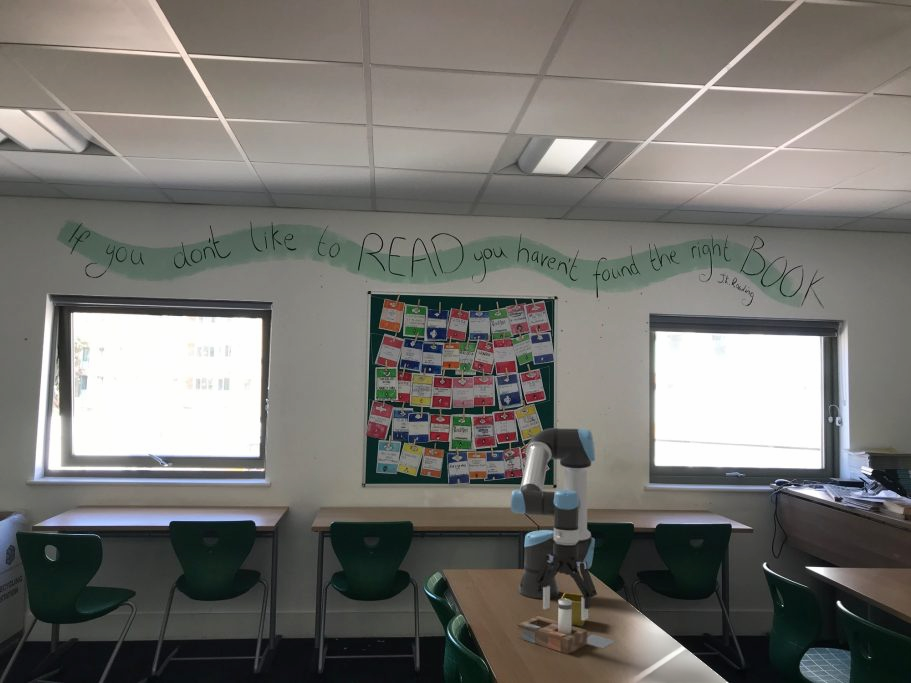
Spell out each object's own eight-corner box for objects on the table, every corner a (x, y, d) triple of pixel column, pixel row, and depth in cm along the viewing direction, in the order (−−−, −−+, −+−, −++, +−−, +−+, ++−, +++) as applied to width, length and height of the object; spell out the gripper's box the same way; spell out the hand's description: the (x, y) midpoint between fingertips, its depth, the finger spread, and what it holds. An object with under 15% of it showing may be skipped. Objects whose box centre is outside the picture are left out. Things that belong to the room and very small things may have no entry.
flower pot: (590, 622, 220) (590, 595, 221) (586, 631, 212) (587, 602, 212) (564, 619, 223) (564, 592, 223) (559, 627, 214) (560, 599, 215)
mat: (592, 637, 206) (592, 634, 206) (615, 644, 201) (615, 641, 201) (579, 644, 200) (579, 640, 200) (602, 651, 195) (602, 648, 195)
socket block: (537, 632, 210) (538, 615, 210) (587, 647, 198) (587, 629, 198) (517, 641, 201) (517, 623, 202) (567, 657, 189) (567, 638, 190)
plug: (562, 644, 200) (562, 597, 201) (573, 648, 197) (574, 600, 198) (554, 648, 197) (555, 600, 198) (566, 652, 194) (567, 603, 195)
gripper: (525, 537, 205) (524, 606, 203) (595, 551, 188) (595, 627, 187) (538, 533, 210) (538, 601, 209) (608, 547, 194) (608, 620, 192)
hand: (565, 613), depth 198 cm, fingers open, 13 cm apart
